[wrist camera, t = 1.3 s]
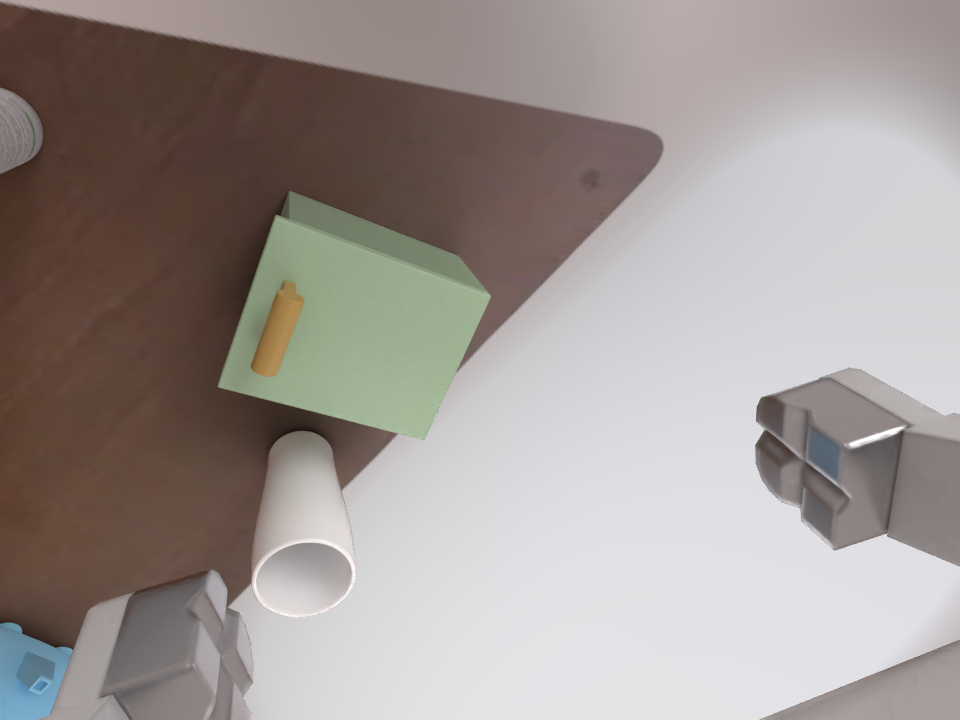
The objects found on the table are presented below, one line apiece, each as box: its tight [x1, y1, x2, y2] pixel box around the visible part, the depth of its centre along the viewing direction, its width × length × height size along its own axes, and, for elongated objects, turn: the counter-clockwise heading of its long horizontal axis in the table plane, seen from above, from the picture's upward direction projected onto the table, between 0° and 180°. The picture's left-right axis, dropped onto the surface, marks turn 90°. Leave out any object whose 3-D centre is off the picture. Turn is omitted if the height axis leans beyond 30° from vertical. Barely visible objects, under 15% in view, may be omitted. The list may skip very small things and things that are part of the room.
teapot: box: [0, 623, 73, 720], centre depth 53 cm, size 18×14×10 cm
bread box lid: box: [218, 215, 491, 440], centre depth 41 cm, size 14×12×4 cm
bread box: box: [280, 191, 488, 293], centre depth 47 cm, size 14×12×9 cm
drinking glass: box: [251, 431, 356, 617], centre depth 49 cm, size 7×7×15 cm
